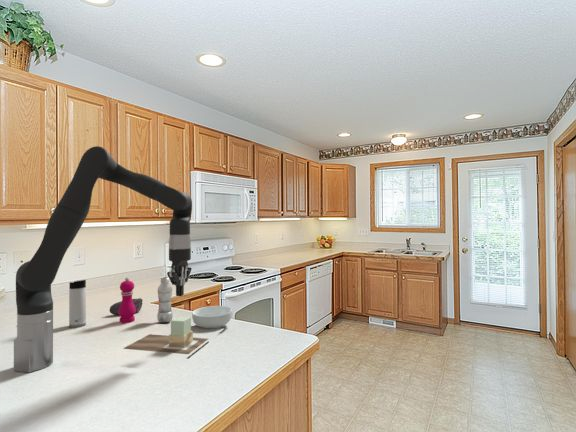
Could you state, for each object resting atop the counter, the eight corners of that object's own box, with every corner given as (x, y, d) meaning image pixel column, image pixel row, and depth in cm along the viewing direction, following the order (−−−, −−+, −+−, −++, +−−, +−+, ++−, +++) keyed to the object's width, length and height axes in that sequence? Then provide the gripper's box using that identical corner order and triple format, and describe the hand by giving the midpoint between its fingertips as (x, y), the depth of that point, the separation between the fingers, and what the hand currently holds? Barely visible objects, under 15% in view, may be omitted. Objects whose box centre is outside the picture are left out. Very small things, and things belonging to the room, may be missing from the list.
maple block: (184, 347, 118) (184, 336, 119) (168, 346, 120) (168, 335, 120) (192, 341, 124) (192, 330, 124) (178, 340, 126) (178, 329, 126)
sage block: (183, 335, 119) (183, 321, 119) (170, 334, 120) (170, 320, 120) (190, 331, 124) (190, 317, 124) (178, 330, 125) (178, 316, 125)
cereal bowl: (190, 323, 152) (190, 307, 152) (227, 319, 158) (227, 304, 158) (194, 335, 136) (194, 317, 136) (235, 330, 142) (235, 313, 142)
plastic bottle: (167, 319, 159) (167, 276, 159) (175, 321, 154) (175, 277, 155) (154, 322, 154) (154, 278, 154) (162, 325, 150) (162, 279, 150)
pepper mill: (114, 322, 155) (114, 278, 155) (128, 318, 161) (128, 275, 161) (125, 324, 151) (125, 279, 152) (139, 320, 158) (139, 276, 158)
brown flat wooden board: (188, 358, 113) (188, 353, 113) (122, 352, 119) (122, 348, 119) (208, 342, 128) (208, 338, 128) (149, 338, 133) (149, 334, 133)
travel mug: (78, 328, 146) (78, 281, 147) (65, 327, 148) (65, 281, 148) (90, 323, 153) (89, 278, 153) (77, 323, 154) (77, 278, 154)
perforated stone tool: (109, 317, 163) (109, 302, 163) (109, 314, 168) (109, 300, 168) (143, 313, 170) (143, 299, 170) (142, 310, 175) (142, 297, 175)
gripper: (180, 245, 130) (180, 291, 129) (159, 248, 117) (159, 299, 117) (198, 246, 128) (198, 292, 128) (179, 248, 115) (179, 300, 115)
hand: (179, 295), depth 122 cm, fingers closed
